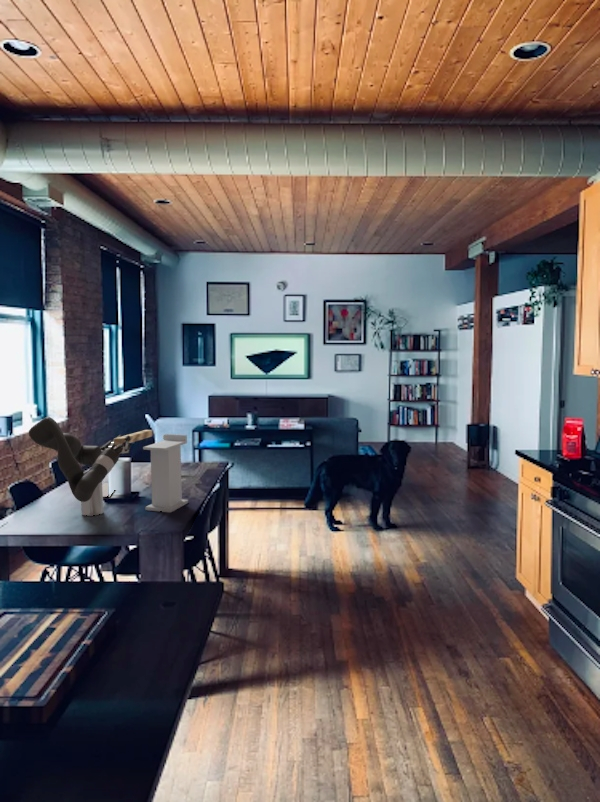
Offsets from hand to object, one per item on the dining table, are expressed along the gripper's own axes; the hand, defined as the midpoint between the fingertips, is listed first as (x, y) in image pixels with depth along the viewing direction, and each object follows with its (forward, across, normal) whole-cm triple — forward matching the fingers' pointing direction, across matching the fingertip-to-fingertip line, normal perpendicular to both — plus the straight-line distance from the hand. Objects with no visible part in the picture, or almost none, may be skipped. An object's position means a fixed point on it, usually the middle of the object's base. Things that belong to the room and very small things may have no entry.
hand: (124, 436), depth 269 cm
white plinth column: (+10, 0, +53) cm, 54 cm away
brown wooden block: (+5, 0, +6) cm, 8 cm away
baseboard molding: (+24, +49, +63) cm, 83 cm away
